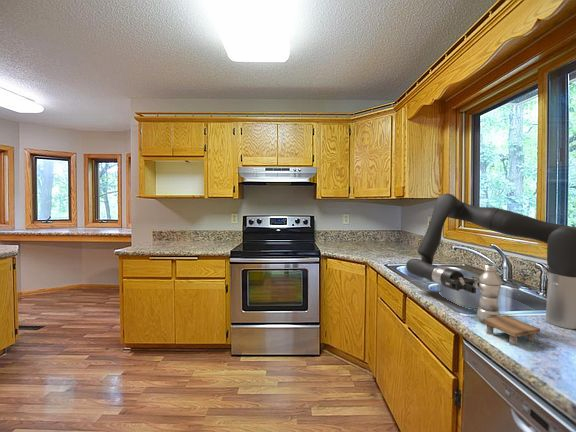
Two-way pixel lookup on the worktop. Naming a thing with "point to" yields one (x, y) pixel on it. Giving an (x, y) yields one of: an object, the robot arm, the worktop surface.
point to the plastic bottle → (489, 293)
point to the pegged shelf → (511, 328)
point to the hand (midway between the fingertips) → (484, 289)
